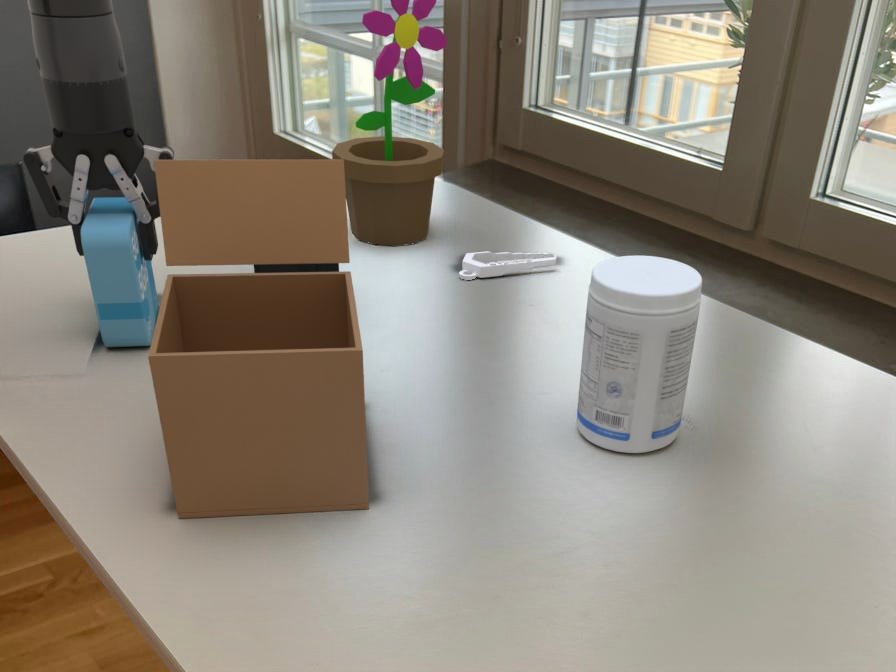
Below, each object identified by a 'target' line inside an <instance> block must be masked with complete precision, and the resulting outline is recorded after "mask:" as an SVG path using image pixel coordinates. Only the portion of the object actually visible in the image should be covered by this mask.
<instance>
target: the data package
mask: <svg viewBox="0 0 896 672" xmlns="http://www.w3.org/2000/svg"><path fill="white" fill-rule="evenodd" d="M138 222H139V218H138V217H137V215H136V213H135V211H134V210H133V208H132V206H131V204H130V203H129V202H128V201H127V200H126V198H125V196H122V197H121V196H120V197H119V196H118V197H117V196H116V197H94V198H93V199H92V201H91V202H90V206H89V208H88V209H87V213H86V214H85V220H84V222H83V224H82V227H81V243H82V248H83V253H84V256H83V257H84V262H85V265H86V272H87V275H88V280H89V285H90V290H91V294H92V295H91V296H92V299H93V303H94V304H93V305H94V308H95V313H96V317H97V323H98V327H99V331H100V336H101V340H102V342H103V345H104V346H105V347H106V348H125V347H149V346H150V347H151V342H152V338H153V334H154V330H155V326H156V321H157V317H158V313H159V302H158V301H159V300H158V294H157V293H158V292H157V288H156V281H155V275H154V270H153V265H152V264H153V263H152V261H145V260H144V256H143V251H142V245H141V239H140V234H139V228H138Z"/></svg>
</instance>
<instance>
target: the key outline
mask: <svg viewBox="0 0 896 672" xmlns="http://www.w3.org/2000/svg"><path fill="white" fill-rule="evenodd" d="M461 263H462V267H461V270H460V271H459V272H458V278H459V277H460V278H461V279H460V278H459V279H460V280H462V279H465V280H464V281H466V280H471V281H473V280H472V279H475V278H476V277H477V278H479V279H481V278H483V279H484V278H491V277H500V276H501V277H503V276H504V274H514V273H520V272H521V271H525V270H526V271H527V270H533V269H534V268H537V267H546V266H547V267H548V266H555V265H556V263H557V255H556V254H553V253H550V252H526V253H525V252H509V251H503V252H492V251H487V250H486V251H477V252H466V253H465V255H464V257H463V260H462V262H461ZM477 278H476V279H477ZM476 279H475V280H476Z"/></svg>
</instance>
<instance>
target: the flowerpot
mask: <svg viewBox="0 0 896 672" xmlns="http://www.w3.org/2000/svg"><path fill="white" fill-rule="evenodd" d="M389 1H390V5H391V8H392V9H393V10H394V12H396V14H397V15H398V17H396V20H394V18H393V17H392V15H391V14H389V13H386V12H383V11H380V10H376V9H373V10H370V11H367V12H365V13H363V14H362V21H361V24H362V25H363V26H364V27H365V28H366V29H367V31H368V32H369V33H370V34H374V35H376V36H377V35H378V36H380V37H385V38H388V37H389V36H391V35H393V38H392V41H391V42H390V43H388V44H386V45H384V47H383V49H382V50H381V51H380V53H379V55H378V56H377V57H376V60H375V67H374V73H373V77H374V78H375V79H376V80H377V81H378V82H380V81H382V80H385V81H384V92H383V111H378V110H372V111H368V112H366V113H363V114H362V115H361V116H360V117H359V118H358V119H357V120H356V121H355V128H357V129H360V130H363V131H366V132H368V131H369V132H370V131H377V130H379V129H382V128H383V127H384V136H382V135H380V136H369V137H367V136H366V137H356V138H352V139H349V140H346V141H342V142H339V143H336V145H335V146H334V148H333V149H332V150H331V158H332V159H331V160H344V174H345V191H346V208H347V214H348V218H349V225H350V230H351V235H352V234H353V235H354V236H355V237H354V236H353V235H352V236H353V237H354V238H355V239H357V240H358V239H359V240H361V241H360V242H362V241H365V242H364V243H366V242H369V243H368V244H370V243H372V244H371V245H373V244H379V245H378V246H384V245H401V246H405V245H404V244H409V245H413V244H412V243H415V244H417V243H419V242H418V241H420V242H422V241H424V240H426V239H427V237H428V234H429V229H430V228H429V227H430V222H431V212H432V204H433V196H434V189H435V180H436V178H437V177H439V176H441V175H442V174H443V171H444V168H445V149H444V148H442V147H441V146H439V145H438V144H435V143H434V142H431V141H426V140H421V139H418V138H417V139H416V138H412V137H399V136H393V122H392V121H393V117H392V111H393V110H392V101H394V102H397V103H398V104H401V105H404V106H408V105H413V104H418V103H421V102H423V101H425V100H426V99H428V98H431V97H432V96H434V95H435V94H436V89H435V88H434V87H432V86H431V85H430V84H428V83H427V82H425V81H423V78H424V73H425V72H424V67H423V62H422V57H421V54H420V53H419V52H418V50H417V49H416V48H415V44H416V43H417V42H418V44H419V45H420V47H421V48H424V49H427V50H430V51H433V52H439V51H440V50H443V49H446V48H447V46H448V37H447V36H446V35H445V34H444V32H443V31H442V29H440V28H436V27H432V26H429V25H424V26H422V27H419V21H422V20H424V19H426V18H428V17H429V15H430V13H431V12H432V11H433V9H434V7H435V6H436V4H437V0H413V1H412V7H411V8H412V9H411V13H408V10H409V4H410V0H389ZM402 49H404V50H405V51H404V56H403V58H402V64H403V70H404V74H405V75H404V76H402V77H400V78H397V79H395V80H394V75H395V74H394V73H395V69H396V67H397V66H398V64H399V63H400V61H401V52H402V51H401V50H402ZM425 238H426V239H425ZM423 239H424V240H423ZM359 240H358V241H359ZM421 240H422V241H421ZM416 242H417V243H416Z"/></svg>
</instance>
